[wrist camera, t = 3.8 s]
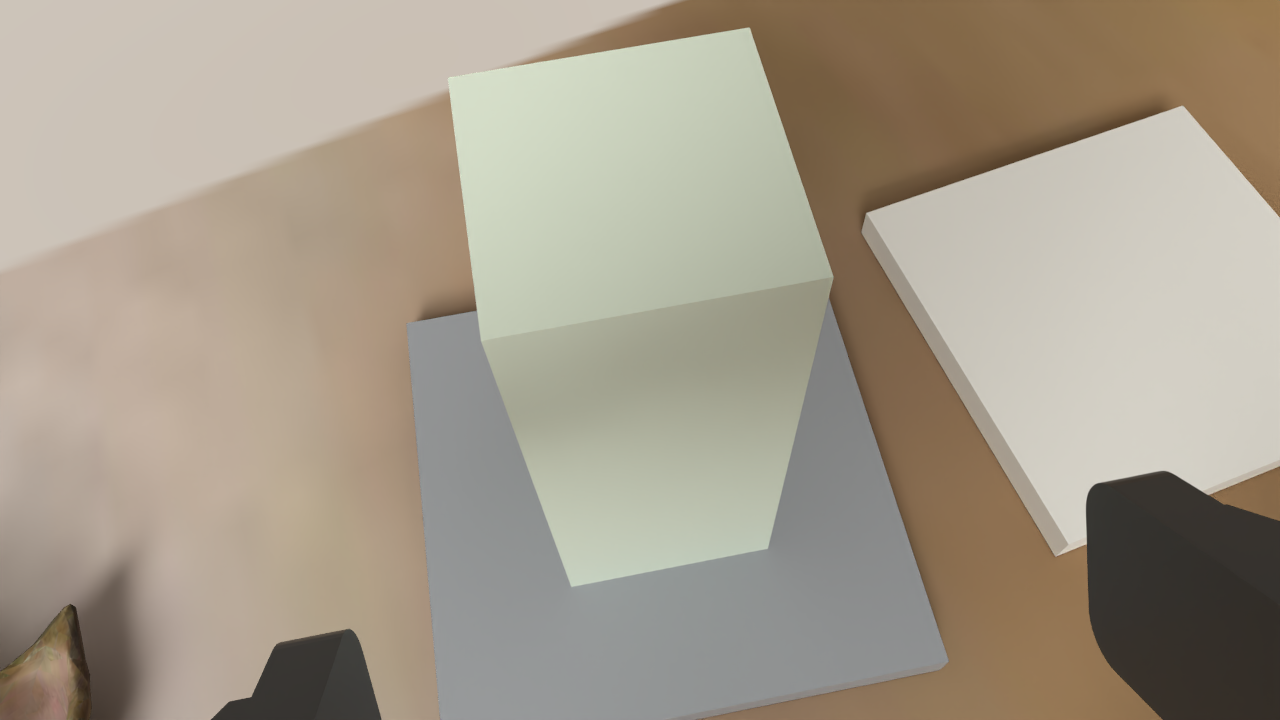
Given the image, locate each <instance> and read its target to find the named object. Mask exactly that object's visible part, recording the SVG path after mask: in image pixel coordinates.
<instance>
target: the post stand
mask: <svg viewBox="0 0 1280 720" xmlns="http://www.w3.org/2000/svg"><path fill="white" fill-rule="evenodd" d="M407 334H408V346H409V358H410V370H411V382H412V393H413V405H414V417H415V429H416V441H417V452H418V464H419V476H420V488H421V500H422V511H423V523H424V535H425V547H426V559H427V570H428V582H429V594H430V606H431V618H432V629H433V641H434V653H435V665H436V677H437V688H438V700H439V712H440V720H697V719H702V718H707V717H712V716H717V715H722V714H726V713H731V712H736V711H741V710H746V709H751V708H756V707H761V706H766V705H771V704H776V703H780V702H785V701H790V700H795V699H800V698H805V697H810V696H815V695H820V694H825V693H830V692H834V691H839V690H844V689H849V688H854V687H859V686H864V685H869V684H874V683H879V682H883V681H888V680H893V679H898V678H903V677H908V676H913V675H918V674H923V673H928V672H933V671H937V670H940V669H941V668H942V667H943V666H945V665H946V664H947V663H948V662H949V660H948V657H947V654H946V651H945V648H944V645H943V642H942V639H941V636H940V633H939V630H938V627H937V624H936V621H935V618H934V615H933V612H932V609H931V606H930V603H929V600H928V597H927V594H926V591H925V588H924V585H923V582H922V579H921V576H920V573H919V570H918V567H917V563H916V560H915V557H914V554H913V551H912V548H911V545H910V542H909V539H908V536H907V533H906V530H905V527H904V524H903V521H902V518H901V515H900V512H899V509H898V506H897V503H896V500H895V497H894V494H893V491H892V488H891V485H890V482H889V479H888V476H887V473H886V470H885V467H884V464H883V460H882V457H881V454H880V451H879V448H878V445H877V442H876V439H875V436H874V433H873V430H872V427H871V424H870V421H869V418H868V415H867V412H866V409H865V406H864V403H863V400H862V397H861V394H860V391H859V388H858V385H857V382H856V379H855V376H854V373H853V370H852V367H851V364H850V361H849V358H848V354H847V351H846V348H845V345H844V342H843V339H842V336H841V333H840V330H839V327H838V324H837V321H836V318H835V315H834V312H833V309H832V306H831V303H830V300H829V298H828V302H827V306H826V311H825V315H824V319H823V323H822V327H821V331H820V335H819V340H818V344H817V348H816V352H815V356H814V360H813V364H812V368H811V373H810V377H809V381H808V385H807V389H806V393H805V397H804V401H803V406H802V410H801V414H800V418H799V422H798V426H797V430H796V435H795V439H794V443H793V447H792V451H791V455H790V459H789V463H788V468H787V472H786V476H785V480H784V484H783V488H782V492H781V497H780V501H779V505H778V509H777V513H776V517H775V521H774V525H773V530H772V534H771V538H770V542H769V546H768V549H764V550H759V551H754V552H748V553H743V554H738V555H733V556H728V557H723V558H718V559H713V560H707V561H702V562H697V563H692V564H687V565H682V566H677V567H672V568H666V569H661V570H656V571H651V572H646V573H641V574H636V575H631V576H625V577H620V578H615V579H610V580H605V581H600V582H595V583H590V584H584V585H579V586H574V587H571V585H570V582H569V579H568V577H567V574H566V571H565V568H564V566H563V563H562V560H561V558H560V555H559V552H558V549H557V547H556V544H555V541H554V538H553V536H552V533H551V530H550V528H549V525H548V522H547V519H546V517H545V514H544V511H543V509H542V506H541V503H540V500H539V498H538V495H537V492H536V489H535V487H534V484H533V481H532V479H531V476H530V473H529V470H528V468H527V465H526V462H525V460H524V457H523V454H522V451H521V449H520V446H519V443H518V440H517V438H516V435H515V432H514V430H513V427H512V424H511V421H510V419H509V416H508V413H507V411H506V408H505V405H504V402H503V400H502V397H501V394H500V391H499V389H498V386H497V383H496V381H495V378H494V375H493V372H492V370H491V367H490V364H489V362H488V359H487V356H486V353H485V351H484V348H483V345H482V342H481V338H480V330H479V322H478V314H477V311H472V312H467V313H461V314H456V315H450V316H444V317H439V318H433V319H428V320H422V321H417V322H411V323H407Z"/></svg>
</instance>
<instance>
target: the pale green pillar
mask: <svg viewBox="0 0 1280 720" xmlns="http://www.w3.org/2000/svg"><path fill="white" fill-rule="evenodd" d="M448 83H449V91H450V99H451V107H452V115H453V123H454V131H455V139H456V147H457V155H458V163H459V171H460V179H461V187H462V195H463V203H464V211H465V219H466V226H467V234H468V242H469V250H470V258H471V266H472V274H473V282H474V290H475V298H476V306H477V314H478V322H479V330H480V338H481V342H482V345H483V348H484V351H485V353H486V356H487V359H488V362H489V364H490V367H491V370H492V372H493V375H494V378H495V381H496V383H497V386H498V389H499V391H500V394H501V397H502V400H503V402H504V405H505V408H506V411H507V413H508V416H509V419H510V421H511V424H512V427H513V430H514V432H515V435H516V438H517V440H518V443H519V446H520V449H521V451H522V454H523V457H524V460H525V462H526V465H527V468H528V470H529V473H530V476H531V479H532V481H533V484H534V487H535V489H536V492H537V495H538V498H539V500H540V503H541V506H542V509H543V511H544V514H545V517H546V519H547V522H548V525H549V528H550V530H551V533H552V536H553V538H554V541H555V544H556V547H557V549H558V552H559V555H560V558H561V560H562V563H563V566H564V568H565V571H566V574H567V577H568V579H569V582H570V585H571V587H574V586H579V585H584V584H590V583H595V582H600V581H605V580H610V579H615V578H620V577H625V576H631V575H636V574H641V573H646V572H651V571H656V570H661V569H666V568H672V567H677V566H682V565H687V564H692V563H697V562H702V561H707V560H713V559H718V558H723V557H728V556H733V555H738V554H743V553H748V552H754V551H759V550H764V549H768V546H769V542H770V538H771V534H772V530H773V525H774V521H775V517H776V513H777V509H778V505H779V501H780V497H781V492H782V488H783V484H784V480H785V476H786V472H787V468H788V463H789V459H790V455H791V451H792V447H793V443H794V439H795V435H796V430H797V426H798V422H799V418H800V414H801V410H802V406H803V401H804V397H805V393H806V389H807V385H808V381H809V377H810V373H811V368H812V364H813V360H814V356H815V352H816V348H817V344H818V340H819V335H820V331H821V327H822V323H823V319H824V315H825V311H826V306H827V302H828V298H829V294H830V290H831V286H832V282H833V278H834V277H833V274H832V271H831V268H830V265H829V262H828V259H827V256H826V253H825V250H824V247H823V244H822V241H821V238H820V235H819V232H818V229H817V226H816V223H815V220H814V217H813V214H812V211H811V209H810V206H809V203H808V200H807V197H806V194H805V191H804V188H803V185H802V182H801V179H800V176H799V173H798V170H797V167H796V164H795V161H794V158H793V155H792V152H791V149H790V146H789V143H788V140H787V137H786V134H785V131H784V128H783V125H782V122H781V119H780V117H779V114H778V111H777V108H776V105H775V102H774V99H773V96H772V93H771V90H770V87H769V84H768V81H767V78H766V75H765V72H764V69H763V66H762V63H761V60H760V57H759V54H758V51H757V48H756V45H755V42H754V39H753V36H752V33H751V30H750V27H749V28H743V29H737V30H731V31H725V32H719V33H713V34H707V35H701V36H695V37H689V38H683V39H677V40H671V41H665V42H659V43H653V44H647V45H641V46H635V47H629V48H623V49H617V50H611V51H605V52H599V53H593V54H587V55H581V56H575V57H569V58H563V59H557V60H551V61H545V62H539V63H532V64H526V65H520V66H514V67H508V68H502V69H496V70H490V71H484V72H478V73H472V74H466V75H461V76H455V77H449V78H448Z"/></svg>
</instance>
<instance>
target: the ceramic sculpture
mask: <svg viewBox="0 0 1280 720" xmlns="http://www.w3.org/2000/svg"><path fill="white" fill-rule="evenodd" d="M91 709H92V708H91V693H90V673H89V670H88V667H87V663H86V660H85V654H84V649H83V643H82V637H81V632H80V627H79V622H78V617H77V611H76V607H75V606H73V605H72V604H69V605H68V606H66V607H64V608H63V609H62V611H61V612H60V613H59V614H58V615H57V616H56V617H55V618H54V620H53V621H52V622H51V623H50V625H49V626H48V627H47V628H46V630H45V631H44V632H43V634H42V635H41V636H40V637H39V639H38V640H37V641H36V642H35V644H34V645H32V646H31V647H30V648H29V649H28V650H26V651H25V652H24V653H23V654H22V655H20V656H19V657H18V658H17V659H16V660H14V661H13V662H12V663H11V664H10V665H8V666H7V667H6V668H5V669H3V670H2V671H1V672H0V720H89V719H90V714H91Z"/></svg>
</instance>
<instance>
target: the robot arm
mask: <svg viewBox="0 0 1280 720" xmlns="http://www.w3.org/2000/svg"><path fill="white" fill-rule="evenodd" d="M1086 532H1087V564H1088V595H1089V615H1090V621H1091V625H1092V629H1093V632H1094V635H1095V638H1096V641H1097V643H1098V646H1099V648H1100V650H1101V652H1102V654H1103V655H1104V657H1105V659H1106V660H1107V662H1108V663H1109V665H1110V666H1111V667H1112V668H1113V670H1114V671H1115V672H1116V673H1117V674H1118V675H1119V676H1120V677H1121V678H1122V679H1123V680H1124V681H1125V682H1126V683H1127V684H1128V685H1129V686H1130V687H1131V688H1132V689H1133V690H1134V691H1135V692H1136V693H1137V694H1138V695H1139V696H1140V697H1141V698H1142V699H1143V700H1144V701H1145V702H1146V703H1147V704H1148V705H1149V706H1150V707H1151V708H1152V709H1153V710H1154V711H1155V712H1156V713H1157V714H1158V715H1159V716H1160V717H1161V718H1162V719H1163V720H1280V521H1277V520H1274V519H1271V518H1268V517H1265V516H1261V515H1258V514H1255V513H1252V512H1249V511H1246V510H1243V509H1239V508H1236V507H1233V506H1230V505H1227V504H1226V505H1223V504H1222V503H1220V502H1219V501H1217V500H1215V499H1214V498H1212V497H1210V496H1209V495H1207V494H1205V493H1204V492H1202V491H1201V490H1199V489H1197V488H1196V487H1194V486H1192V485H1191V484H1189V483H1187V482H1186V481H1184V480H1183V479H1181V478H1179V477H1178V476H1176V475H1174V474H1172V473H1170V472H1168V471H1157V472H1152V473H1147V474H1142V475H1137V476H1132V477H1127V478H1122V479H1117V480H1112V481H1106V482H1101V483H1097V484H1095V485H1093V486H1092V487H1091V489H1090V490H1089V492H1088V495H1087V500H1086ZM211 720H381V716H380V713H379V709H378V705H377V702H376V698H375V694H374V691H373V687H372V684H371V680H370V676H369V673H368V669H367V665H366V662H365V658H364V655H363V651H362V648H361V645H360V642H359V640H358V638H357V636H356V634H355V633H354V632H353V631H352V630H351V629H346V630H341V631H336V632H331V633H326V634H321V635H315V636H310V637H305V638H300V639H295V640H290V641H285V642H280V643H278V644H277V645H276V646H275V647H274V649H273V651H272V653H271V655H270V657H269V659H268V662H267V664H266V666H265V668H264V671H263V673H262V675H261V677H260V679H259V682H258V684H257V686H256V688H255V690H254V693H253V695H252V697H250V698H245V699H240V700H235V701H230V702H228V703H227V704H226V705H225V706H224V707H223V708H222V709H221V710H220V711H219V712H218V713H217V714H216V715H215V716H214V717H213V718H212V719H211Z"/></svg>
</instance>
